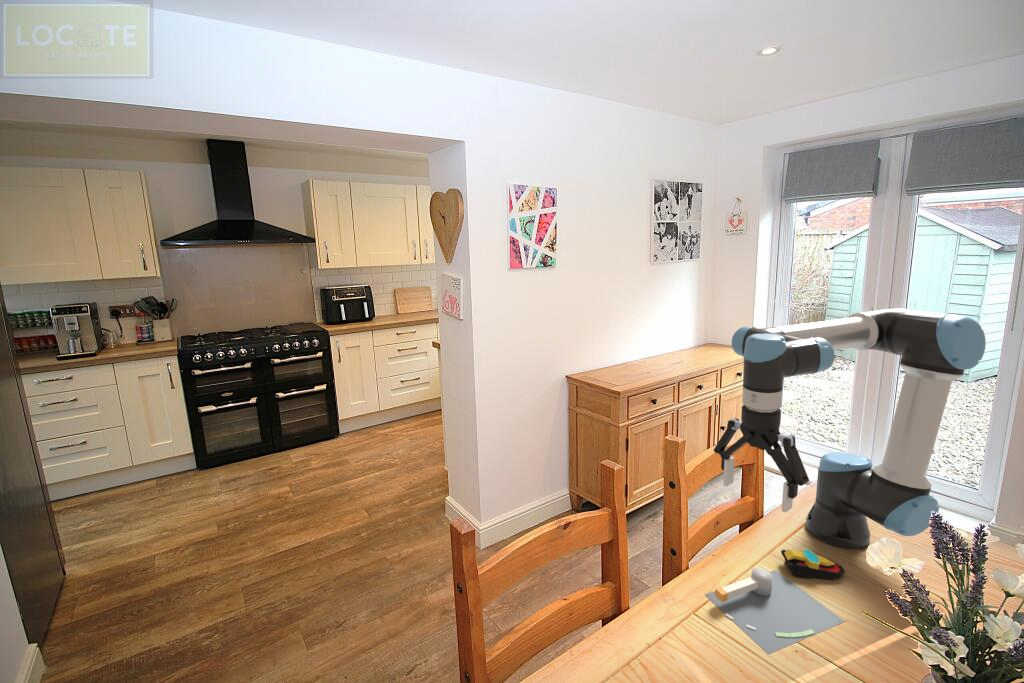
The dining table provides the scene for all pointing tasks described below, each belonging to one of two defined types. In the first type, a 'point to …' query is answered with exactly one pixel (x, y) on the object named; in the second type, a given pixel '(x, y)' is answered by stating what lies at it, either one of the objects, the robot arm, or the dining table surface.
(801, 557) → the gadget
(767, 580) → the white mallet
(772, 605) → the dial board
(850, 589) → the dining table surface
